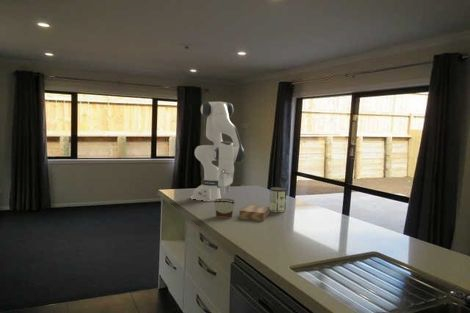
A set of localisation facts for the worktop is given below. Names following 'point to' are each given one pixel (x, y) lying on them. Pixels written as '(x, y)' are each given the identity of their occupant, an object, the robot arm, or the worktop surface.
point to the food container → (224, 207)
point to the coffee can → (278, 199)
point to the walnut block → (254, 212)
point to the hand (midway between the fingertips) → (225, 192)
